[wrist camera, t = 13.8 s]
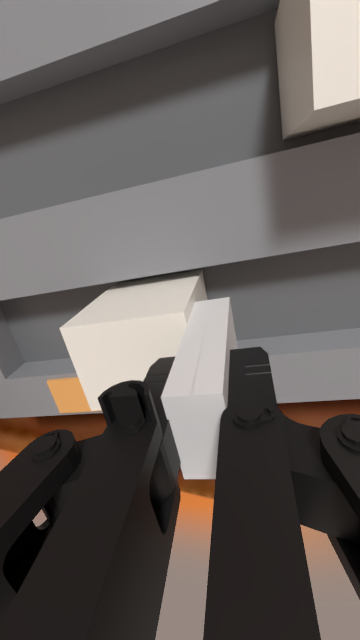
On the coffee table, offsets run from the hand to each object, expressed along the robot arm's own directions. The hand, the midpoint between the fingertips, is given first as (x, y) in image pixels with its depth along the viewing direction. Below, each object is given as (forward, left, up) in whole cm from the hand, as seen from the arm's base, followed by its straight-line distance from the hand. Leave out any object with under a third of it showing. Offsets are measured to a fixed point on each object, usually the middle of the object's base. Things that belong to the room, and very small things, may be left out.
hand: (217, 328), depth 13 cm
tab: (0, -3, -4) cm, 5 cm away
